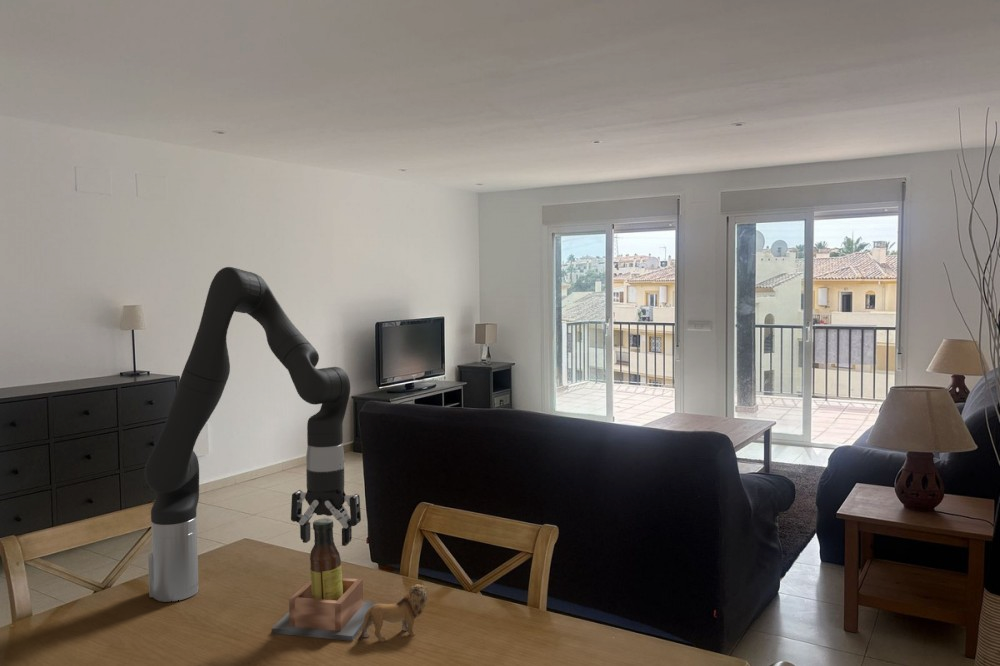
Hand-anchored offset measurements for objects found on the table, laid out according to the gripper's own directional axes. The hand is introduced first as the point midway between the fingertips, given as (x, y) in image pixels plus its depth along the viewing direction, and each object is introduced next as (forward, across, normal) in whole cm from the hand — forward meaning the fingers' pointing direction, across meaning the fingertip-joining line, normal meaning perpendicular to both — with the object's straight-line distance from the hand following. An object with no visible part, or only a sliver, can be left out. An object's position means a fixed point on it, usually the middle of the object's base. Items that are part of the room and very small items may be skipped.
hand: (326, 543), depth 148 cm
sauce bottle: (+15, 0, 0) cm, 15 cm away
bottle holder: (+16, 0, 0) cm, 16 cm away
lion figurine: (+16, +16, -3) cm, 23 cm away
